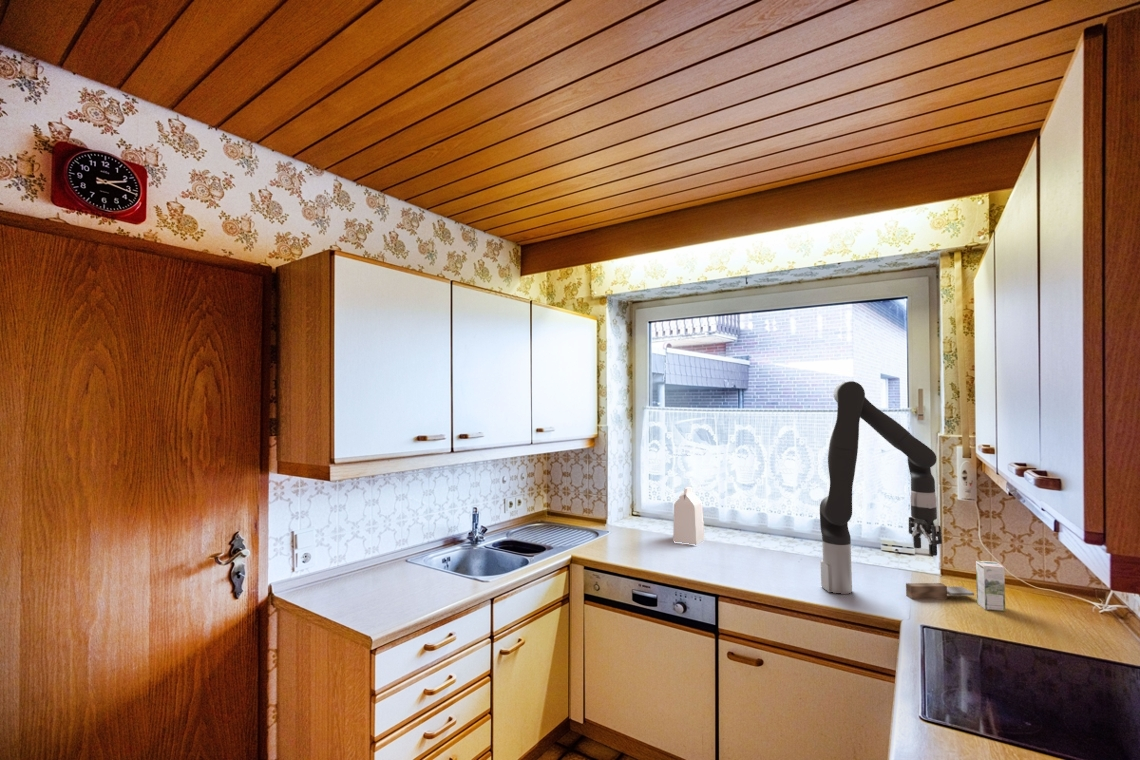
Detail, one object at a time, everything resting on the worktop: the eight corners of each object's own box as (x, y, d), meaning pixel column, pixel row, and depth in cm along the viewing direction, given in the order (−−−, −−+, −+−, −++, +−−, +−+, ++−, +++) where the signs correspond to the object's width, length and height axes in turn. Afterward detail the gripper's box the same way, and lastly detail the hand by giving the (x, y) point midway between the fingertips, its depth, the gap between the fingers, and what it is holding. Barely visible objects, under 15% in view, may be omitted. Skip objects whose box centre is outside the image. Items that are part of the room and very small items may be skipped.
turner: (914, 601, 180) (914, 587, 180) (903, 594, 186) (903, 581, 186) (974, 600, 180) (973, 587, 180) (961, 594, 185) (961, 581, 186)
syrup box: (996, 605, 175) (995, 560, 176) (1006, 612, 170) (1004, 566, 170) (976, 603, 177) (975, 559, 177) (985, 610, 171) (983, 565, 172)
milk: (696, 546, 248) (695, 490, 249) (673, 543, 254) (672, 488, 255) (704, 540, 258) (703, 486, 259) (682, 537, 264) (681, 484, 265)
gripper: (900, 500, 191) (901, 545, 190) (925, 509, 177) (927, 558, 176) (921, 500, 191) (923, 545, 190) (948, 508, 177) (950, 557, 176)
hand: (925, 551), depth 183 cm, fingers open, 8 cm apart
